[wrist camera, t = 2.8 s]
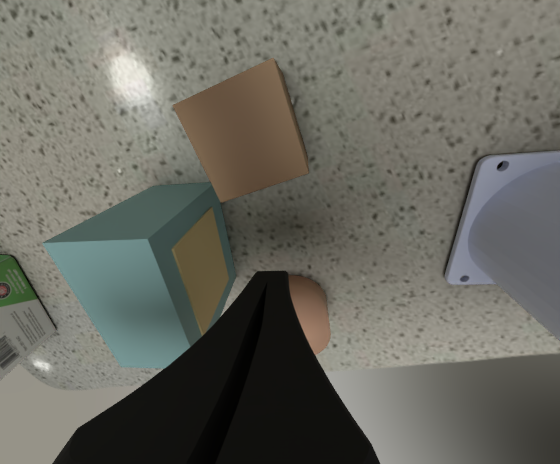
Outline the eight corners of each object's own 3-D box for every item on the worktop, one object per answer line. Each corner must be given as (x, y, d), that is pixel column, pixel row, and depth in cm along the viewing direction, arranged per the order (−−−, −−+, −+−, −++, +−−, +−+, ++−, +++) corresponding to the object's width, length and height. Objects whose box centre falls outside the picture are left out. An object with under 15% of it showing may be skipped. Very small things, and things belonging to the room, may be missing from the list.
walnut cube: (282, 73, 11) (273, 57, 8) (307, 155, 13) (308, 173, 9) (210, 106, 12) (172, 105, 9) (242, 178, 14) (220, 202, 10)
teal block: (217, 181, 14) (150, 238, 8) (237, 275, 17) (201, 369, 11) (152, 185, 14) (39, 243, 8) (183, 276, 18) (119, 367, 11)
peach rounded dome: (326, 273, 16) (330, 305, 14) (326, 323, 19) (330, 359, 16) (256, 275, 17) (247, 306, 14) (265, 324, 19) (259, 358, 17)
